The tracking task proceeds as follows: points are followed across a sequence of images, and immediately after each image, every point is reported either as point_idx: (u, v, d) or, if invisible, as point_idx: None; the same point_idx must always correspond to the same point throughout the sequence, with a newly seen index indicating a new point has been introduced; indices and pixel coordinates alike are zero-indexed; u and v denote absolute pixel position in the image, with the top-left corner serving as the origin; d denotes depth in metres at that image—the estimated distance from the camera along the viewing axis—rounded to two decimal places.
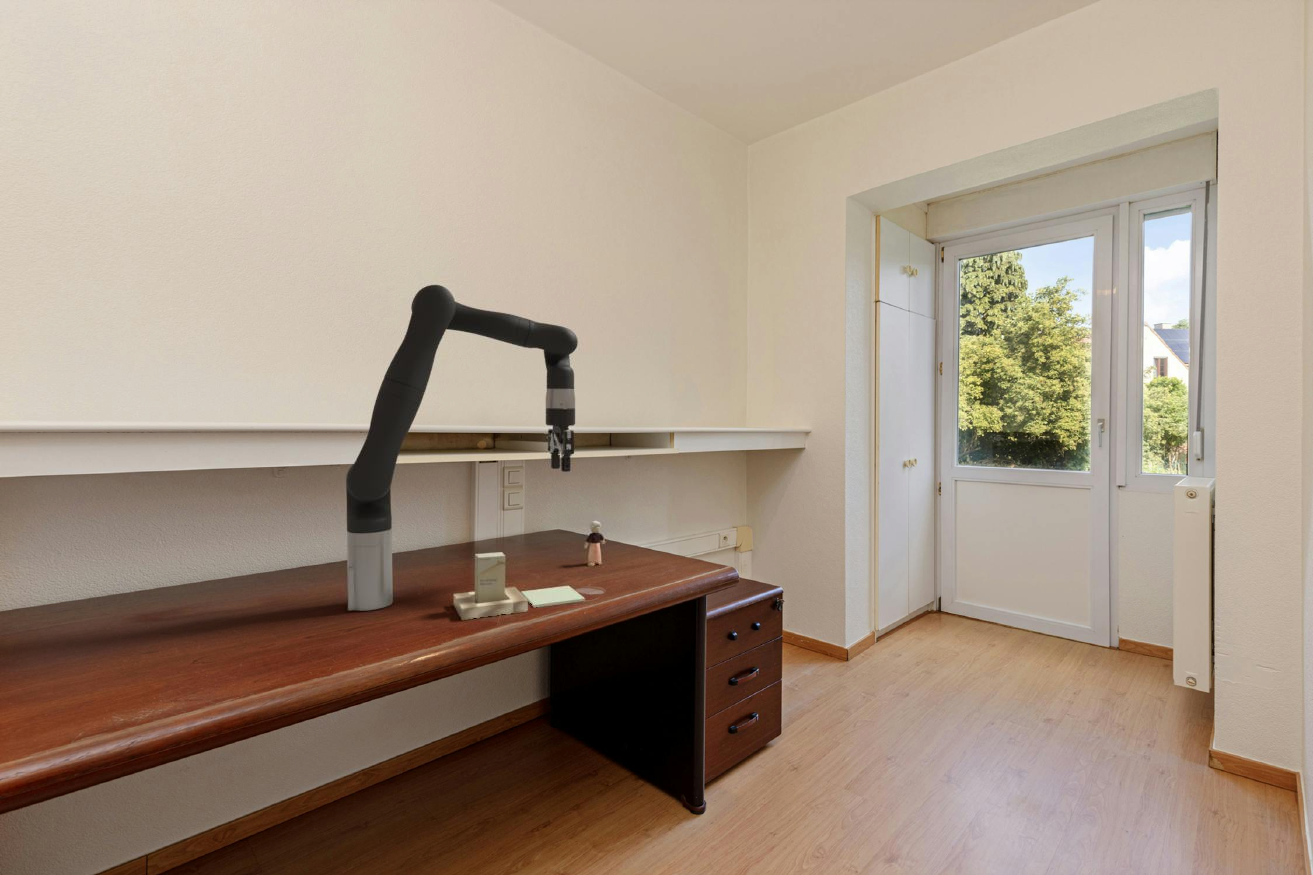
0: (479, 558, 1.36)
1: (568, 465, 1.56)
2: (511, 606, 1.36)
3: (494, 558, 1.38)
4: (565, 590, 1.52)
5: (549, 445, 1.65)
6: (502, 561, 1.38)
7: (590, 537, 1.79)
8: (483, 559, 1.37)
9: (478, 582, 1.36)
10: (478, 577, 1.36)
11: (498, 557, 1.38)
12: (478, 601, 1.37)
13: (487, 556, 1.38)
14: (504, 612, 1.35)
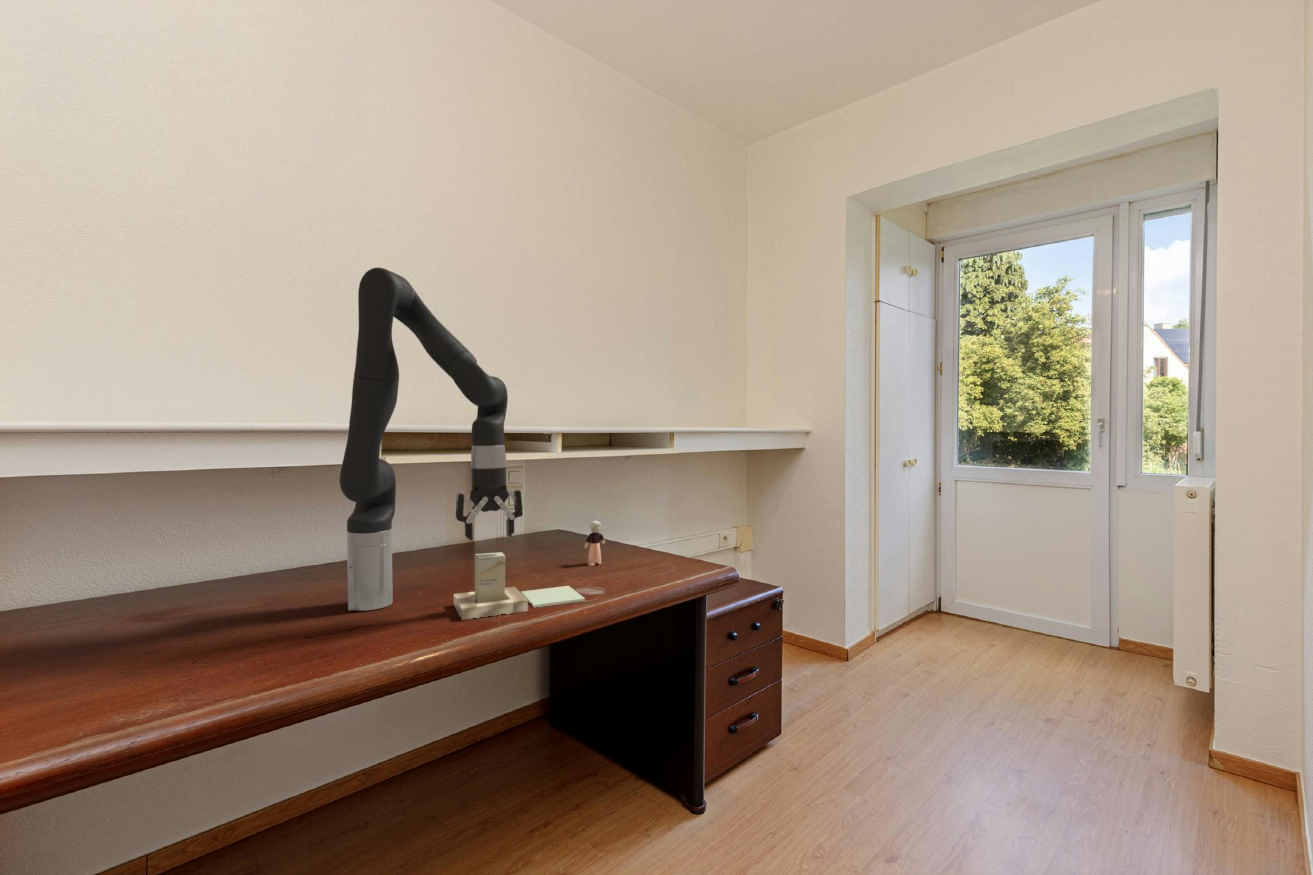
0: (479, 558, 1.36)
1: None
2: (511, 606, 1.36)
3: (494, 558, 1.38)
4: (565, 590, 1.52)
5: None
6: (502, 561, 1.38)
7: (590, 537, 1.79)
8: (483, 559, 1.37)
9: (478, 582, 1.36)
10: (478, 577, 1.36)
11: (498, 557, 1.38)
12: (478, 601, 1.37)
13: (487, 556, 1.38)
14: (504, 612, 1.35)
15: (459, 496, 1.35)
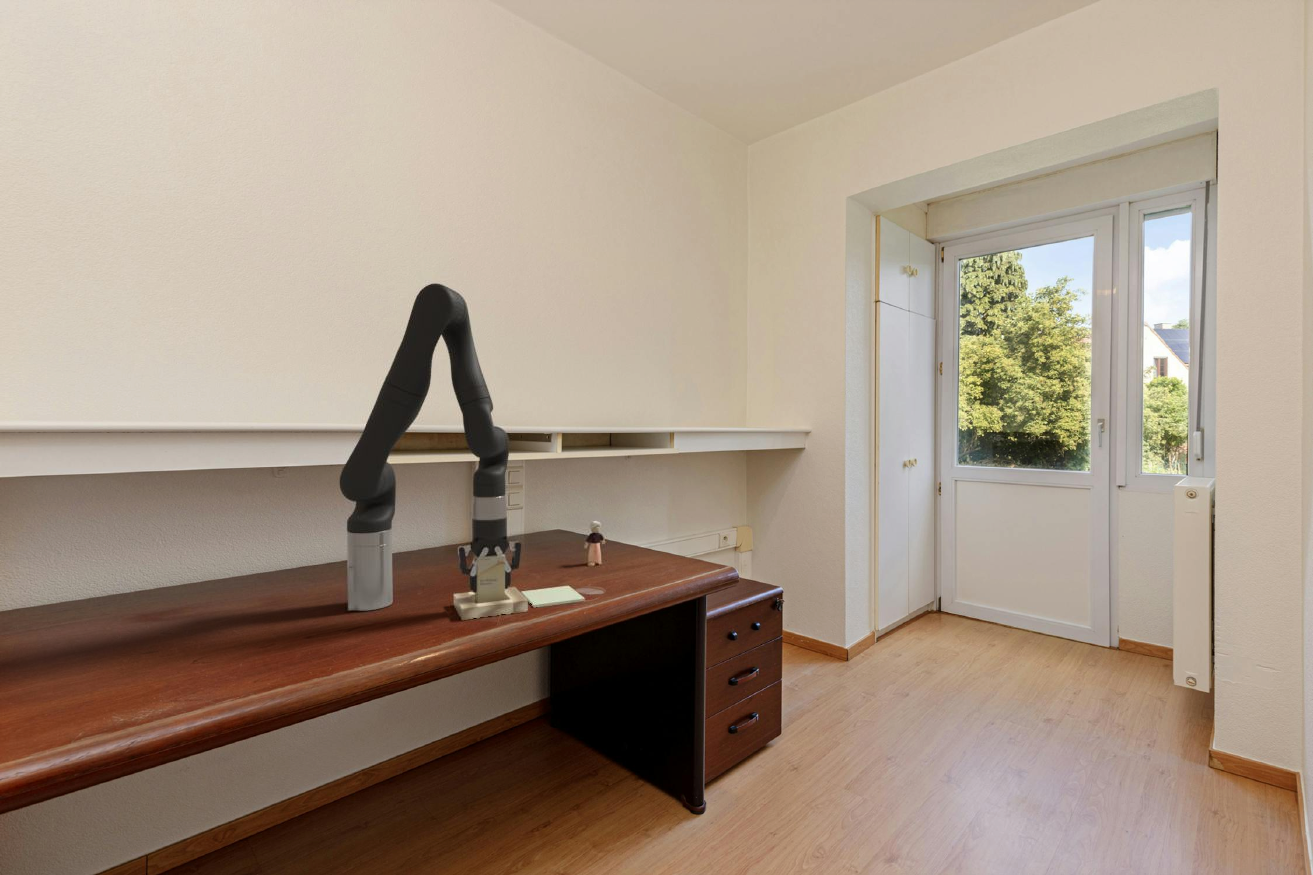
0: (479, 558, 1.36)
1: None
2: (511, 606, 1.36)
3: (494, 558, 1.38)
4: (565, 590, 1.52)
5: (466, 566, 1.36)
6: (502, 561, 1.38)
7: (590, 537, 1.79)
8: (483, 559, 1.37)
9: (478, 582, 1.36)
10: (478, 577, 1.36)
11: (498, 557, 1.38)
12: (478, 601, 1.37)
13: (487, 556, 1.38)
14: (504, 612, 1.35)
15: (460, 550, 1.35)
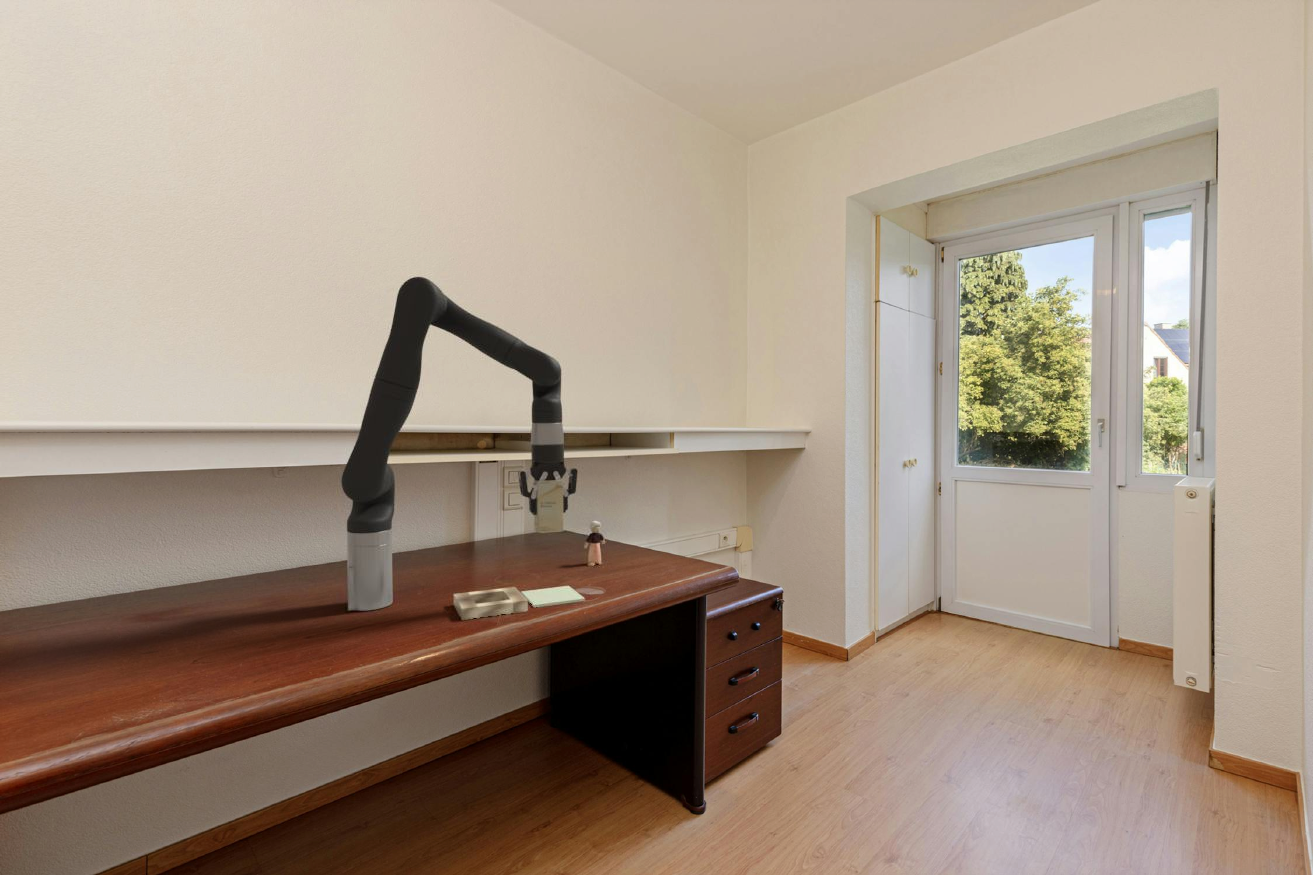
0: (539, 481, 1.43)
1: None
2: (511, 606, 1.36)
3: (553, 482, 1.45)
4: (565, 590, 1.52)
5: (527, 489, 1.43)
6: (560, 485, 1.45)
7: (590, 537, 1.79)
8: (543, 483, 1.44)
9: (538, 504, 1.43)
10: (538, 500, 1.43)
11: (556, 481, 1.45)
12: (539, 522, 1.43)
13: (546, 480, 1.45)
14: (504, 612, 1.35)
15: (521, 473, 1.42)
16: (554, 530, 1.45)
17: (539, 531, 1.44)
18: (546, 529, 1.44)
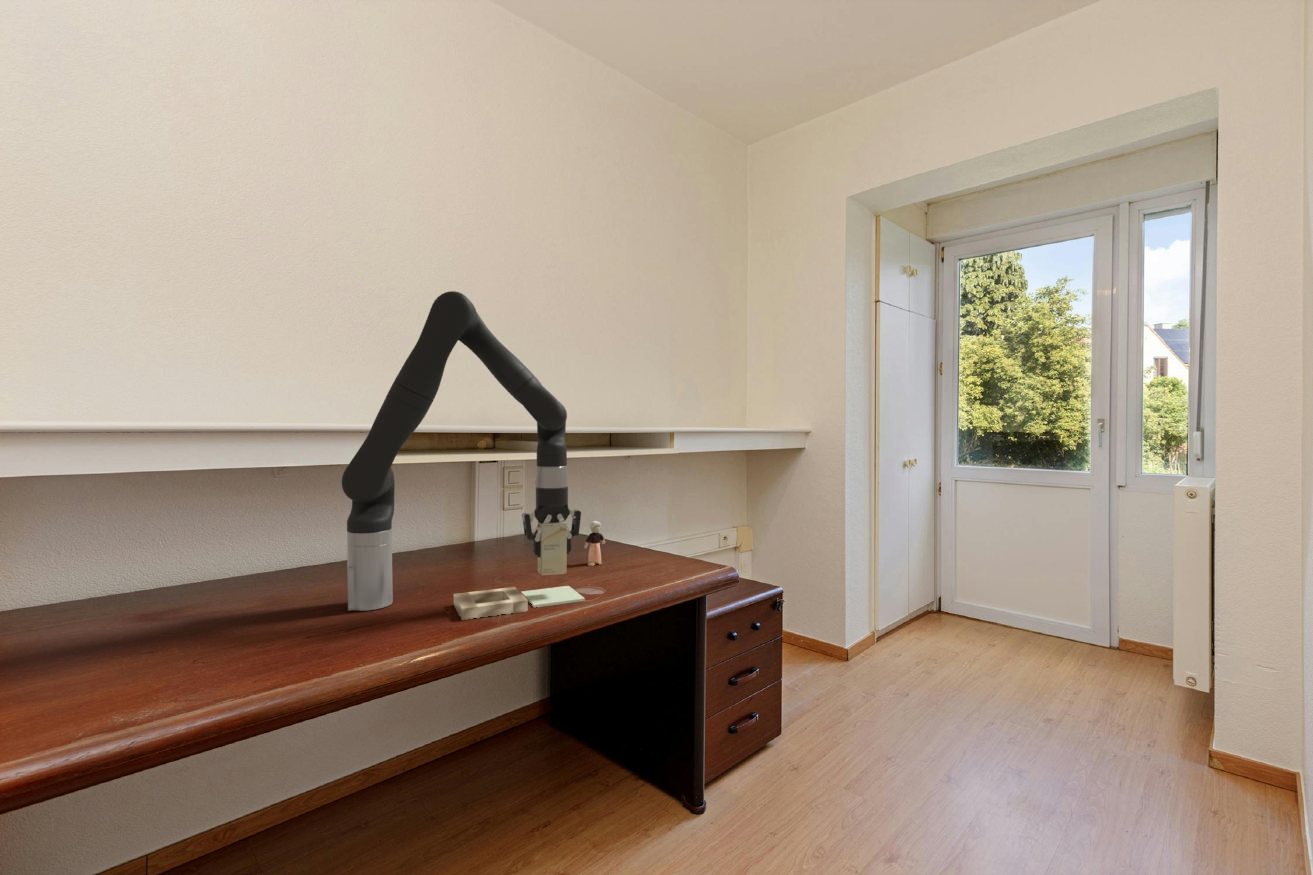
0: (543, 524, 1.45)
1: None
2: (511, 606, 1.36)
3: (557, 525, 1.46)
4: (565, 590, 1.52)
5: (531, 531, 1.44)
6: (564, 528, 1.47)
7: (590, 537, 1.79)
8: (547, 525, 1.45)
9: (542, 547, 1.45)
10: (542, 542, 1.45)
11: (560, 524, 1.46)
12: (542, 565, 1.45)
13: (550, 523, 1.46)
14: (504, 612, 1.35)
15: (525, 517, 1.43)
16: (557, 572, 1.46)
17: (542, 573, 1.45)
18: (549, 571, 1.45)
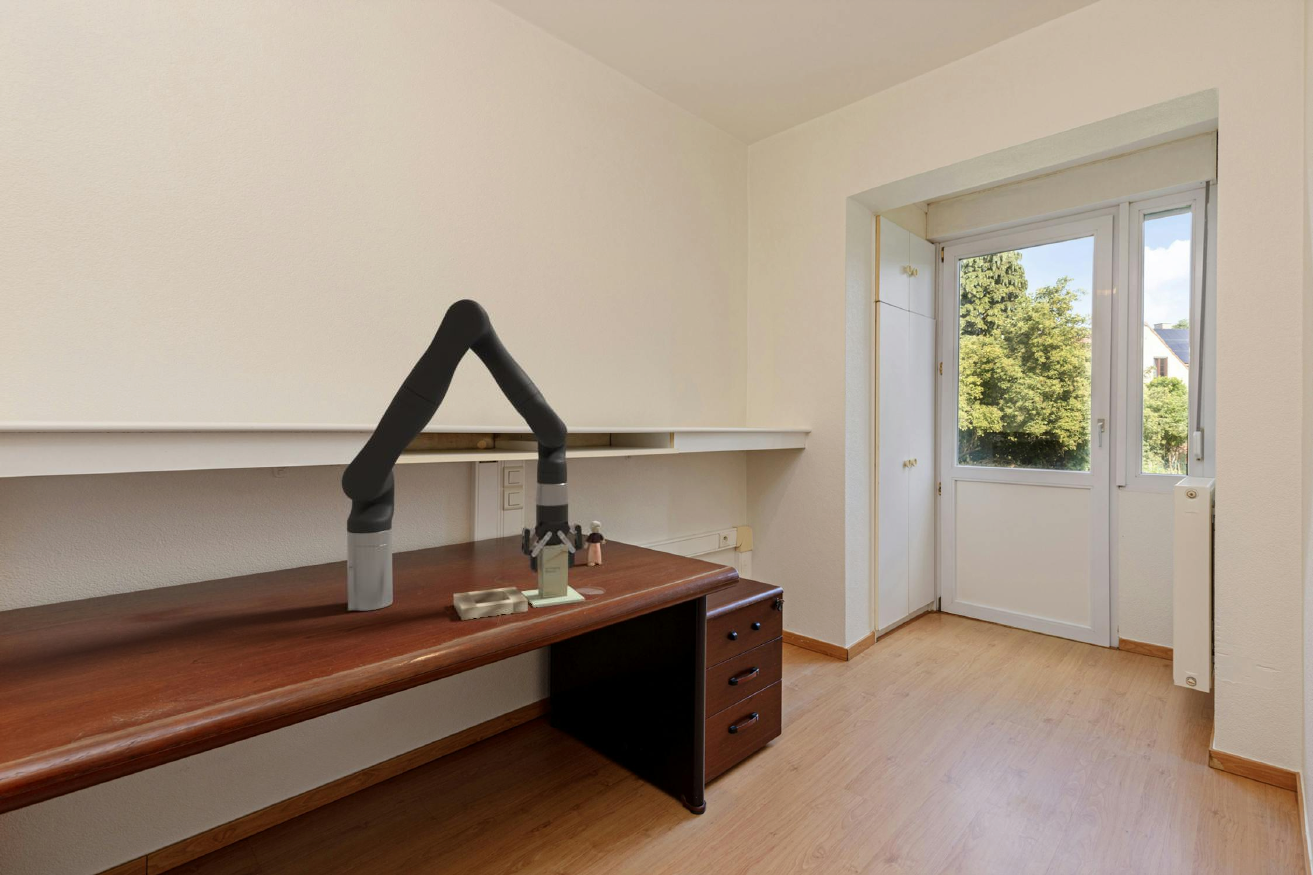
0: (544, 547, 1.45)
1: None
2: (511, 606, 1.36)
3: (558, 547, 1.46)
4: None
5: None
6: (565, 550, 1.47)
7: (590, 537, 1.79)
8: (548, 548, 1.45)
9: (543, 570, 1.45)
10: (543, 565, 1.45)
11: (561, 546, 1.47)
12: (543, 588, 1.45)
13: (551, 545, 1.46)
14: (504, 612, 1.35)
15: (526, 531, 1.44)
16: (558, 595, 1.46)
17: (544, 596, 1.45)
18: (550, 593, 1.46)
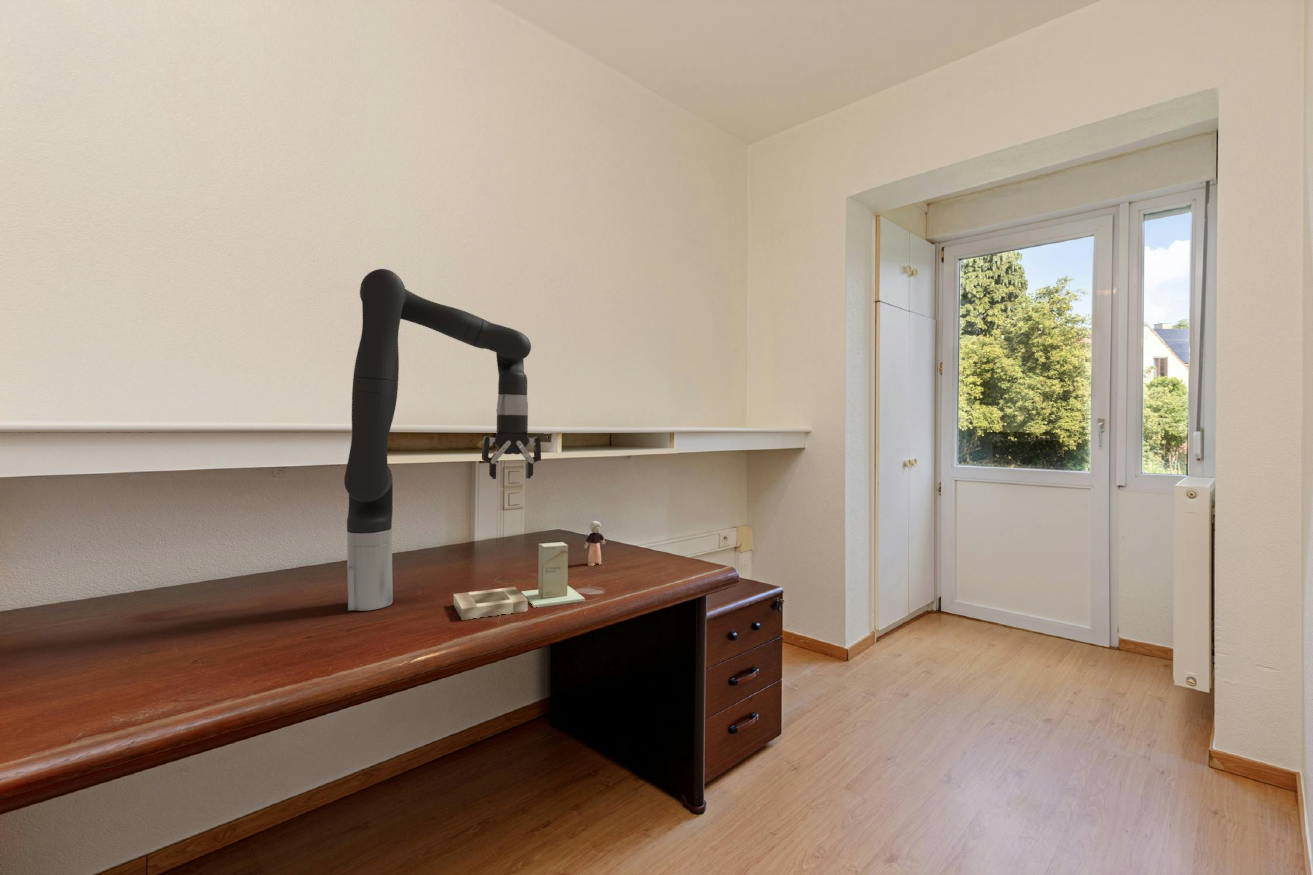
0: (544, 547, 1.45)
1: None
2: (511, 606, 1.36)
3: (558, 547, 1.46)
4: None
5: (488, 454, 1.51)
6: (565, 550, 1.47)
7: (590, 537, 1.79)
8: (548, 548, 1.45)
9: (543, 570, 1.45)
10: (543, 565, 1.45)
11: (561, 546, 1.47)
12: (543, 588, 1.45)
13: (551, 545, 1.46)
14: (504, 612, 1.35)
15: (485, 439, 1.51)
16: (558, 595, 1.46)
17: (544, 596, 1.45)
18: (550, 593, 1.46)
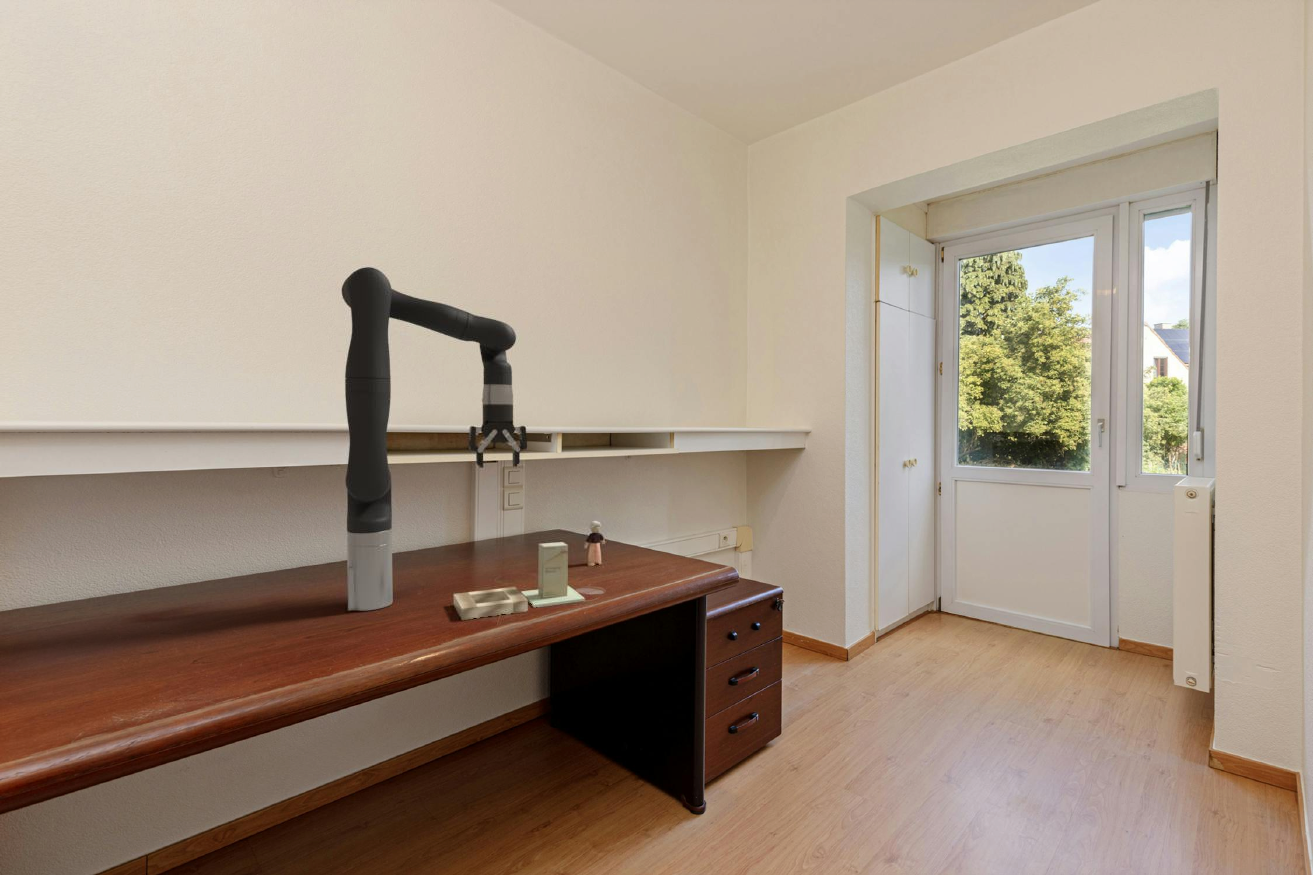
0: (544, 547, 1.45)
1: None
2: (511, 606, 1.36)
3: (558, 547, 1.46)
4: None
5: None
6: (565, 550, 1.47)
7: (590, 537, 1.79)
8: (548, 548, 1.45)
9: (543, 570, 1.45)
10: (543, 565, 1.45)
11: (561, 546, 1.47)
12: (543, 588, 1.45)
13: (551, 545, 1.46)
14: (504, 612, 1.35)
15: (472, 428, 1.54)
16: (558, 595, 1.46)
17: (544, 596, 1.45)
18: (550, 593, 1.46)
